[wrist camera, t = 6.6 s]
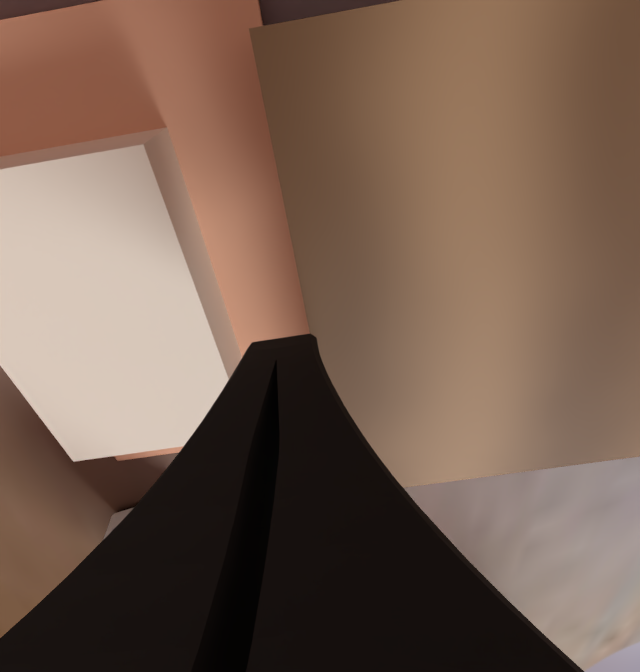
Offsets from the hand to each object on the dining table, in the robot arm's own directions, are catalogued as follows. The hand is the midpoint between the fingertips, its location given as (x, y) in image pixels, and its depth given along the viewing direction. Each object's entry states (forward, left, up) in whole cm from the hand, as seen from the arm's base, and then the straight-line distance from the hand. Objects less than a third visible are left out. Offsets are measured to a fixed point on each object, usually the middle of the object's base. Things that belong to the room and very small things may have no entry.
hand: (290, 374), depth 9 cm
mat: (+4, 0, -5) cm, 6 cm away
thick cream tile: (+5, 0, -3) cm, 6 cm away
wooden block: (-8, 0, -5) cm, 9 cm away
